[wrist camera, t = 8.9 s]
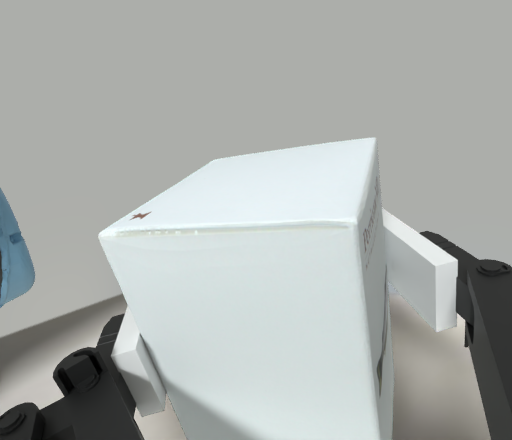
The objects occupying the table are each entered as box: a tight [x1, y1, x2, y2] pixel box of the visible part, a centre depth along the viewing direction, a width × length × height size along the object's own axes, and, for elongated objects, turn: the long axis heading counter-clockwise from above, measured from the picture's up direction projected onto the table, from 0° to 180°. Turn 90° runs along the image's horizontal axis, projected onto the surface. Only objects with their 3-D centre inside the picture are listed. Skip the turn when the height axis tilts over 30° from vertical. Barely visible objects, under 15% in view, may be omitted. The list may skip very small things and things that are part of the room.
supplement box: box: [98, 138, 394, 440], centre depth 13 cm, size 7×7×13 cm
